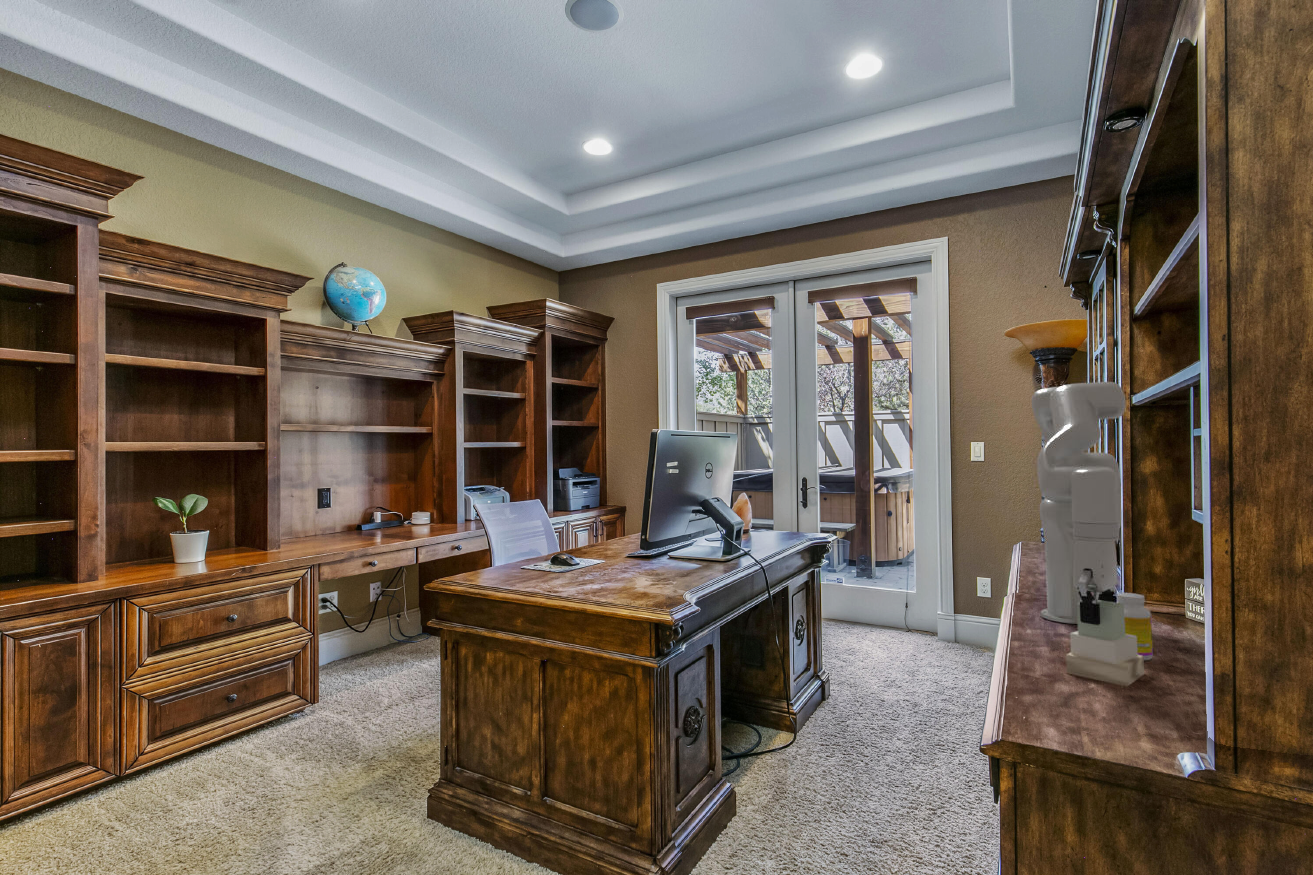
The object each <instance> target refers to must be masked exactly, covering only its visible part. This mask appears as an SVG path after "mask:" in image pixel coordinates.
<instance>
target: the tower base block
mask: <svg viewBox="0 0 1313 875" xmlns="http://www.w3.org/2000/svg"><path fill="white" fill-rule="evenodd" d="M1065 664H1066V665H1065V667H1066V674H1068V675H1074V676H1078V677H1083V678H1086V679H1091V680H1095V681H1099V682H1100V681H1101V682H1104V683H1105V682H1106V683H1110V684H1114V685H1119V686H1123V687H1129V686H1130V685H1131V684H1133V683H1134V682H1136V681H1137V680H1139V678H1141V677H1142V676H1144V675H1145V660H1144V656H1143V655H1138V657H1136V658H1133V659H1131V660H1128V661H1125V662H1122V663H1119V664H1112V663H1107V662H1103V661H1099V660H1095V659H1091V658H1087V657H1083V656H1079V655H1075V654H1071V651H1070V652H1069V653H1066V654H1065Z"/></svg>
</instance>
